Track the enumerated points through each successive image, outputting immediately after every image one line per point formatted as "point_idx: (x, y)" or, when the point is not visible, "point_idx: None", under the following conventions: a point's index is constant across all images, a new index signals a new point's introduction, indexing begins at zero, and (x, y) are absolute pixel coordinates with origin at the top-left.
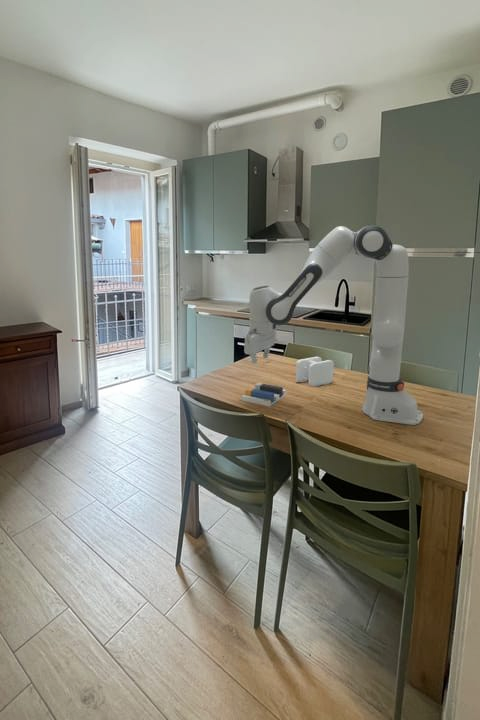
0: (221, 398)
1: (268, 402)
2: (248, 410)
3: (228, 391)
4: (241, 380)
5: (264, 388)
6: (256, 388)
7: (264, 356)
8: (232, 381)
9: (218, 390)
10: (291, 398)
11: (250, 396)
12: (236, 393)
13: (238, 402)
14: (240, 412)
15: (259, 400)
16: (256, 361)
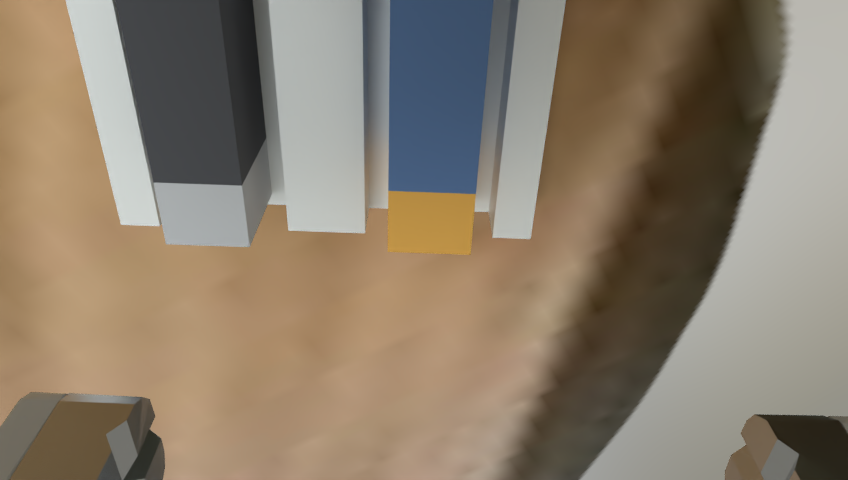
0: (502, 373)
1: None
2: (692, 52)
3: (330, 398)
4: None
5: (240, 113)
6: (257, 206)
7: (142, 476)
8: None
9: (355, 457)
10: None
11: (504, 157)
12: (334, 333)
13: None
14: (767, 98)
15: (561, 13)
16: (844, 448)
